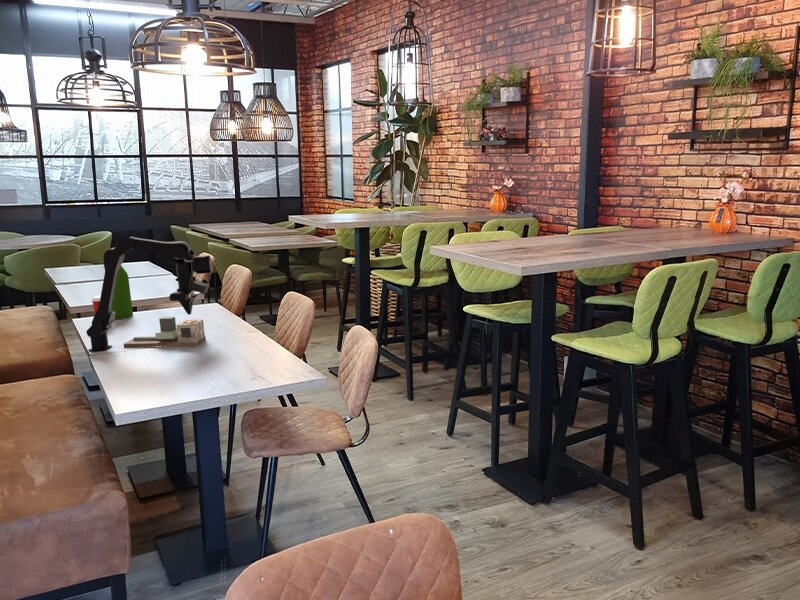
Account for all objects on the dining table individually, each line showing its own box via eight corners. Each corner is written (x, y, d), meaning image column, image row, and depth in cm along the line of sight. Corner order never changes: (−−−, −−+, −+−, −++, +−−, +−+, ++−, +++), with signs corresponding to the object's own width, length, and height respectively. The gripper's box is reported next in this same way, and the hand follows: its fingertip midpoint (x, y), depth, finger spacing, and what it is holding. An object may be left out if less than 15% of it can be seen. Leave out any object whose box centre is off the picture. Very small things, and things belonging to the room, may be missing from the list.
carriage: (173, 338, 259) (171, 320, 257) (156, 338, 260) (153, 320, 258) (182, 333, 267) (180, 315, 265) (165, 333, 267) (163, 315, 266)
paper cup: (117, 325, 299) (113, 294, 296) (108, 329, 291) (104, 298, 289) (100, 325, 300) (96, 294, 297) (91, 329, 292) (87, 298, 289)
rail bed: (195, 346, 257) (193, 325, 256) (123, 347, 261) (121, 326, 259) (205, 339, 267) (203, 319, 265) (136, 340, 270) (133, 320, 269)
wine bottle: (137, 315, 318) (128, 247, 312) (124, 319, 310) (116, 249, 303) (121, 314, 321) (112, 247, 314) (108, 319, 312) (99, 249, 306)
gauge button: (193, 335, 260) (192, 322, 259) (184, 335, 260) (183, 322, 259) (197, 333, 264) (196, 320, 262) (188, 333, 264) (187, 320, 263)
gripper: (195, 278, 247) (199, 319, 250) (214, 270, 265) (218, 308, 269) (166, 279, 248) (171, 320, 252) (187, 270, 267) (191, 309, 270)
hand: (189, 314), depth 260 cm, fingers closed
